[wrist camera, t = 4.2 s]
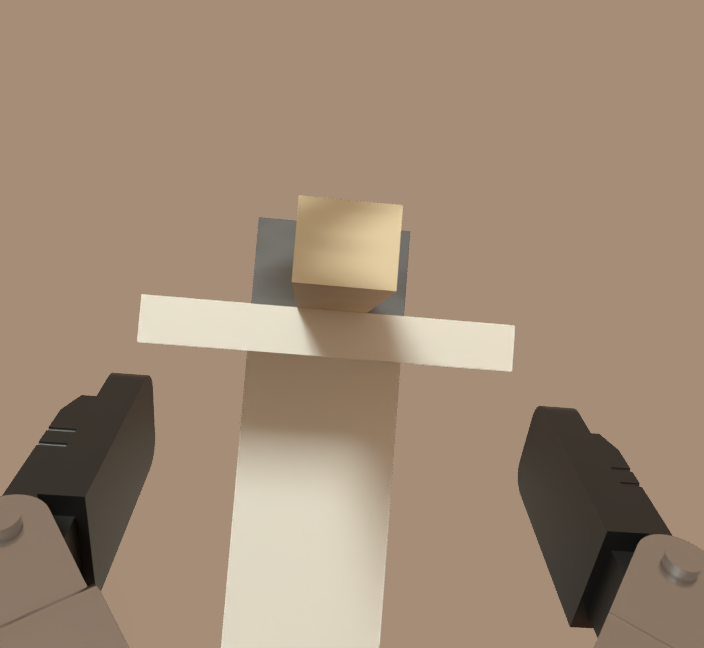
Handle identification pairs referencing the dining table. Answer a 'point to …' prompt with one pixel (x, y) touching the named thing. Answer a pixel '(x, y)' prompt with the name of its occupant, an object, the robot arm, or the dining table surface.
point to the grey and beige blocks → (334, 257)
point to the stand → (315, 455)
